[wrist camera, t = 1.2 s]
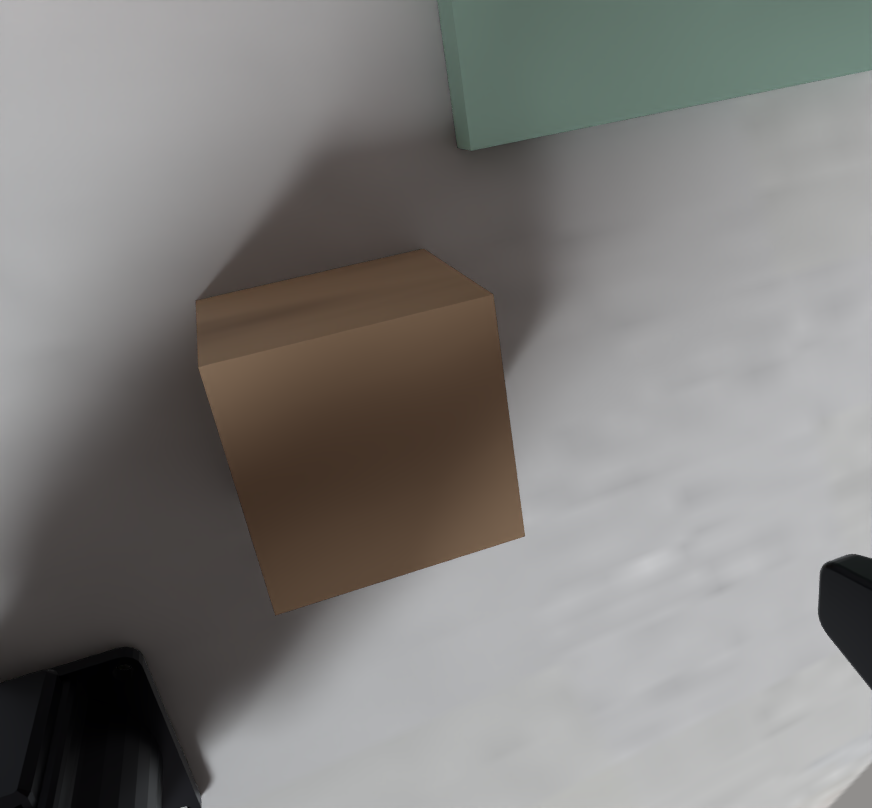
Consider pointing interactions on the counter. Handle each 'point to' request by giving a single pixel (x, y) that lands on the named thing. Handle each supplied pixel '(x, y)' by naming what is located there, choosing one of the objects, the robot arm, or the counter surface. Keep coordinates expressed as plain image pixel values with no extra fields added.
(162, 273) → the counter surface
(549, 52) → the base plate
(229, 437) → the walnut brick
